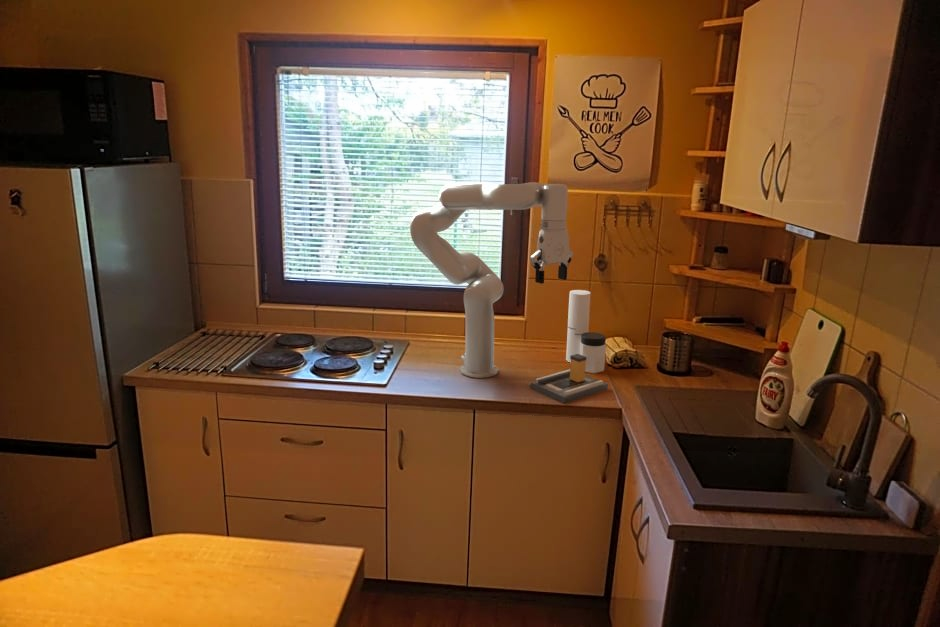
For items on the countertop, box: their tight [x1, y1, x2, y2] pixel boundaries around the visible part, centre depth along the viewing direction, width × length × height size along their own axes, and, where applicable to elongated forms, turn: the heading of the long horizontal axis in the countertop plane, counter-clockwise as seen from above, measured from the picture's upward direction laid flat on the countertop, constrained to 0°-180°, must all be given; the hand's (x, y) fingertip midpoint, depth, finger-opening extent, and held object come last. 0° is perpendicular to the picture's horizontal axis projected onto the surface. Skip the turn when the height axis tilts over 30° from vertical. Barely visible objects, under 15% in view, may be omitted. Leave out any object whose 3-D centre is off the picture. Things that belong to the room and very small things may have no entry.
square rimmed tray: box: [535, 368, 604, 395], centre depth 197 cm, size 14×16×1 cm
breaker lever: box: [569, 354, 586, 382], centre depth 198 cm, size 4×3×8 cm
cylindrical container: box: [565, 289, 591, 364], centre depth 221 cm, size 7×7×25 cm
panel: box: [529, 374, 609, 405], centre depth 198 cm, size 15×19×2 cm
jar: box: [579, 331, 607, 374], centre depth 214 cm, size 9×8×12 cm
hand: (551, 281), depth 195 cm, fingers open, 9 cm apart
